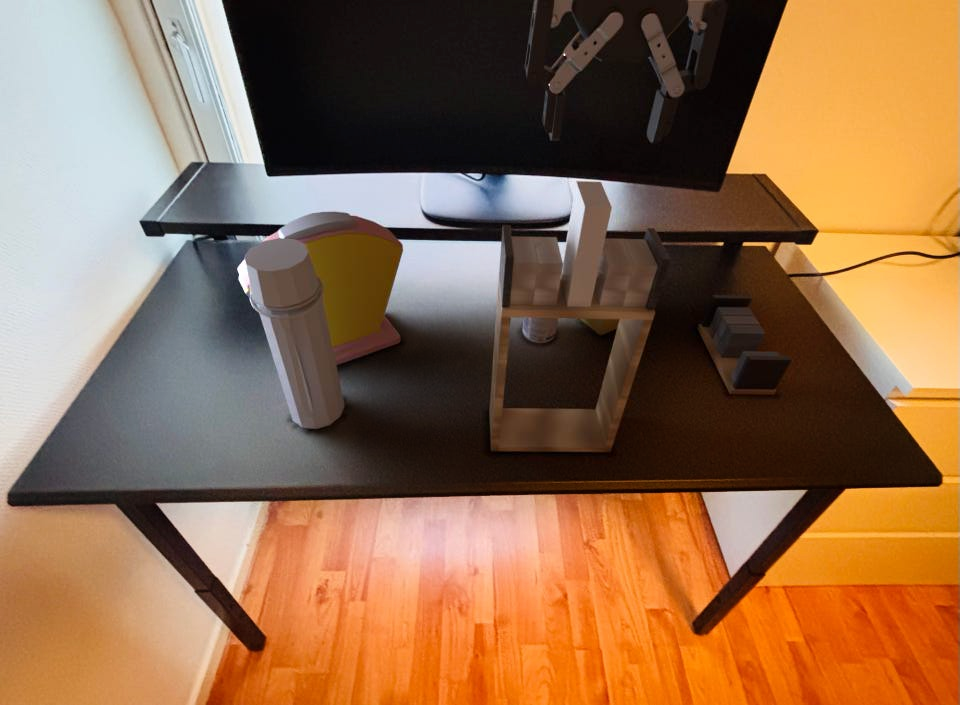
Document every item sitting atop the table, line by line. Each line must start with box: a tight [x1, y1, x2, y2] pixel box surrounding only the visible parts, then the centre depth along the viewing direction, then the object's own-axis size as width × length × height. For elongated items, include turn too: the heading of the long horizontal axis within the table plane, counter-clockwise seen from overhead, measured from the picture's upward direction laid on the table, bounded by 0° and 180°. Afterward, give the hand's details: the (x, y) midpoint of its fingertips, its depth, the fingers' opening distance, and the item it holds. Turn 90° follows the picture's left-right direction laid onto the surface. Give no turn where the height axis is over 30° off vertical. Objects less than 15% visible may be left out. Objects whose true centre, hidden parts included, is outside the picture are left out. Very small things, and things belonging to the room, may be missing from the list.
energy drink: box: [522, 318, 559, 344], centre depth 83 cm, size 5×5×12 cm
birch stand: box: [489, 280, 654, 453], centre depth 64 cm, size 16×7×22 cm, turn 91°
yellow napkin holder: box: [237, 211, 404, 366], centre depth 76 cm, size 22×9×22 cm, turn 122°
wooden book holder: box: [498, 224, 671, 320], centre depth 54 cm, size 16×7×7 cm, turn 91°
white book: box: [561, 180, 613, 307], centre depth 52 cm, size 2×5×11 cm, turn 1°
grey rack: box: [697, 294, 793, 396], centre depth 81 cm, size 15×7×7 cm, turn 1°
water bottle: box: [243, 238, 345, 430], centre depth 64 cm, size 9×8×25 cm
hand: (603, 138), depth 46 cm, fingers open, 8 cm apart
